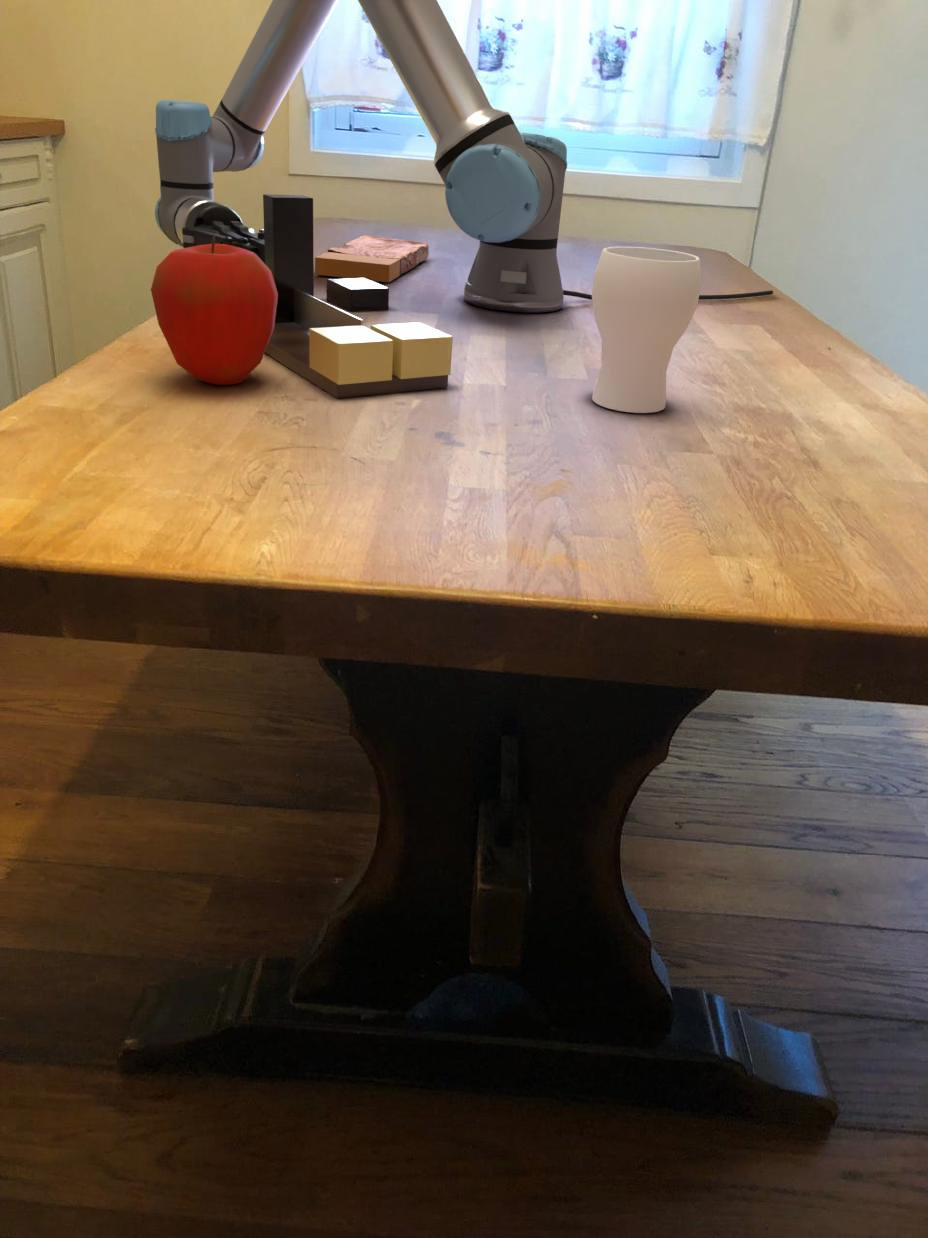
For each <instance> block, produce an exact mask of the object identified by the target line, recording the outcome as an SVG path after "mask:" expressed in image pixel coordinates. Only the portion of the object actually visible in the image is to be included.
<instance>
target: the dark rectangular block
mask: <svg viewBox="0 0 928 1238" xmlns="http://www.w3.org/2000/svg"><path fill="white" fill-rule="evenodd" d="M326 301H327V302H329V303H331V304H334V305H335V306H338V307H340V308H342V309H344V310H346V311H348V312H372V311H388V310H389V304H390V288H389V287H387V286H385V285H382V284H380V283H378V282H376V281H372V280H367V279H365V278H326Z"/></svg>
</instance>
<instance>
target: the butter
mask: <svg viewBox="0 0 928 1238" xmlns="http://www.w3.org/2000/svg"><path fill="white" fill-rule="evenodd" d="M453 339H454V338H453V335H450V334H448V333H445V332H444V331H441V330H439V329H436V328H434V327H431V326H429V325H427V324H425V323H422V322H419V321H417V322H414V321H413V322H399V323H383V324H379V323H378V324H371V325H370V328H368V327H366V326H364V325H363V326H362V325H360V326H342V327H325V328H309V350H310V368H312V369H313V370H315V371H317V372H318V373H320V374H322V375H323V376H325V377H327V378H328V379H330V380H331V381H333V382H335V383H336V384H338V385H342V384H353V383H365V382H376V381H387V380H392V375H394V376H396V377H398V378H400V379H409V378H420V377H431V376H442V375H448V376H451V373H452V372H451V370H452V353H453Z"/></svg>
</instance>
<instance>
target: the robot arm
mask: <svg viewBox="0 0 928 1238" xmlns="http://www.w3.org/2000/svg"><path fill="white" fill-rule="evenodd" d="M357 2H358V3H359V5H360V7H361V9H362V10H363V13H364V14H365V16H366V18H367V20H368V21H369V23H370V25H371V27H372V29H373V31H374V32H375V35H376V36H377V38H378V40H379V42H380V44H381V46H382V48H383V50H384V51H385V53H386V55H387V56H388V58H389V61H390V62H391V64H392V66H393V68H394V69H395V71H396V73H397V75H398V77H399V79H400V81H401V83H402V85H403V86H404V88H405V89H406V92H407V93H408V95H409V97H410V99H411V100H412V101H411V102H413V104H414V106H415V108H416V110H417V112H418V113H419V115H420V117H421V119H422V121H423V123H424V124H425V126H426V128H427V131H428V132H429V134H430V136H431V138H432V139H433V142H434V143H435V145H436V149H435V153H434V158H433V165H434V167H435V170H436V171H437V173H438V174H439V176H440V178H441V180H442V182H443V183H444V186H445V191H444V195H445V203H446V207H447V210H448V212H449V213H448V214H450V216H451V218H452V220H453V221H454V223H455V225H456V226H457V227H458V228H459V229H460V230H461V231H462V232H463V233H464V234H465V235H467V236H469V237H470V238H472V239H474V240H477V241H479V245H478V249H477V251H476V255H475V258H474V260H473V263H472V265H471V268H470V271H469V274H468V277H467V279H466V281H465V285H464V288H463V300H464V301H465V302H466V303H468V304H470V305H473V306H476V307H480V308H484V309H489V310H495V311H501V312H502V311H503V312H510V313H511V312H513V313H532V314H533V313H536V314H537V313H550V312H555V311H560V310H561V309H562V308H563V306H564V305H563V304H564V296H568V297H576V298H581V299H586V300H591V301H592V294H589V293H584V292H579V291H573V290H566V289H563V284H562V277H561V271H560V267H559V261H558V256H557V252H558V251H557V249H558V242H559V241H558V240H559V234H560V233H559V232H560V224H561V222H560V221H561V215H562V214H561V213H562V205H563V196H564V187H565V179H566V178H565V177H566V172H567V169H568V161H567V157H568V149H567V145H566V144H565V142H564V141H563V140H561V139H558V138H556V137H552V136H546V135H543V134H537V133H529V132H523V131H521V132H520V131H519V129H518V127H517V125H516V123H515V121H514V119H513V117H512V116H511V114H510V112H509V111H505V110H503V109H497V108H496V107H494V106H493V105H492V103H491V101H490V100H489V97H488V96H487V94H486V92H485V90H484V88H483V86H482V84H481V82H480V80H479V79H478V77H477V75H476V73H475V71H474V69H473V67H472V65H471V63H470V61H469V59H468V58H467V56H466V54H465V52H464V50H463V48H462V46H461V44H460V42H459V39H458V38H457V36H456V34H455V32H454V30H453V29H452V26H451V25H450V23H449V21H448V19H447V17H446V15H445V14H444V11H443V10H442V8H441V5H440V4H439V2H438V0H357ZM338 3H339V0H272V1H271V2H270V4H269V6H268V8H267V10H266V12H265V14H264V16H263V18H262V20H261V22H260V24H259V25H258V27H257V30H256V32H255V34H254V35H253V37H252V39H251V41H250V43H249V45H248V47H247V49H246V51H245V53H244V55H243V57H242V59H241V60H240V62H239V64H238V67H236V70H235V72H234V74H233V76H232V77H231V80H230V82H229V84H228V86H227V88H226V90H225V91H224V93H223V96H222V98H221V99H220V101H219V103H218V105H217V107H216V109H215V111H214V113H213V114H212V116H211V113H210V108H209V106H208V105H207V104H206V103H204V102H199V101H198V102H197V101H187V100H173V99H172V100H171V99H162V100H159V101H158V102H156V105H155V128H154V131H155V132H154V133H155V136H156V137H155V138H156V147H157V148H156V150H157V161H158V171H159V173H158V174H159V183H160V185H159V189H160V190H159V191H160V197H159V198H158V200H157V202H156V205H155V209H154V219H155V222H156V225H157V227H158V228H159V230H160V231H161V232H162V234H163V235H164V236H165V237H166V238H167V239H168V240H169V241H170V242H172V243H174V244H175V245H178V246H180V247H182V249H183V248H188V247H193V246H199V245H206V244H212V238H213V235H214V236H216V238H215V244H226V245H231V246H235V247H239V248H242V249H246V250H248V251H251V252H254V253H255V254H256V255H257V256H258V257H259V258H260V259H261V260H262V261H263V262H264V264H265V245H264V228H260V229H258V231H259V232H255V230H254V229H253V228H252V227H248V226H246V225H244V222H243V221H242V219H241V217H240V216H239V214H238V213H237V212H236V211H234V209H232V208H230V207H229V206H227V205H224V204H221V203H219V202H217V201H215V196H214V195H215V194H214V173H220V172H221V173H222V172H231V173H233V172H236V173H237V172H241V171H242V172H243V171H245V170H247V169H251V168H254V167H255V166H256V165H257V164H258V163H259V162H260V161H261V159H262V158H263V155H264V152H265V151H264V150H265V138H264V134H265V132H266V131H267V129H268V127H269V125H270V124H271V121H272V120H273V118H274V116H275V115H276V113H277V111H278V109H279V107H280V106H281V104H282V102H283V100H284V98H285V97H286V95H287V93H288V92H289V90H290V87H291V86H292V84H293V82H294V81H295V79H296V78H297V75H298V74H299V72H300V70H301V69H302V66H303V65H304V62H305V61H306V59H307V57H308V56H309V54H310V52H311V50H312V48H313V46H314V45H315V43H316V42H317V40H318V38H319V36H320V35H321V33H322V31H323V29H324V27H325V25H326V23H327V22H328V20H329V19H330V16H331V15H332V13H333V11H334V9H335V8H336V6H337V4H338ZM773 294H774V290H773V289H772V290H763V291H754V292H743V293H732V294H731V293H730V294H699V299H698V301H701V300H708V301H709V300H732V299H733V300H734V299H744V298H754V297H763V296H771V295H773Z"/></svg>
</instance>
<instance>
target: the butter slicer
mask: <svg viewBox="0 0 928 1238" xmlns="http://www.w3.org/2000/svg"><path fill="white" fill-rule="evenodd" d="M262 200H263V201H262V206H263V208H262V209H263V229H264V245H265V265H266V266H267V267H268V268H269V269H270V270H271V272H272V276H273V279H274V282H275V286H276V289H277V293H278V300H277V308H276V316H275V323H296V324H298V325H300V326H302V327H303V328H305V329H307V330H309V328H325V327H342V326H360V325H362V326H364V319H362V318H360V317H357V316H355V315H353V314H351V313H349V312H347V311H345V310H343V309H340V308H338V307H336V306H334V305H332V304H330V303H328V302H325V301H323V300H321V299H320V298H316V297H315V295H314V294H315V291H314V290H315V285H314V284H315V283H314V282H315V279H314V277H315V276H314V275H315V260H314V198H313V197H311V196H307V195H304V194H262Z"/></svg>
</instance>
